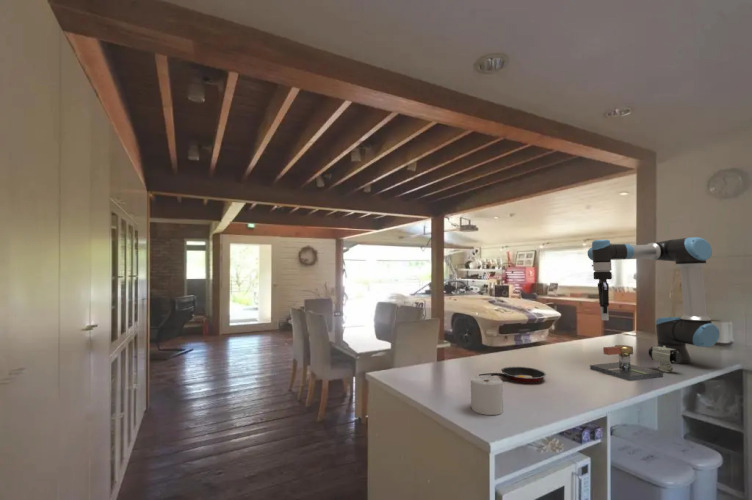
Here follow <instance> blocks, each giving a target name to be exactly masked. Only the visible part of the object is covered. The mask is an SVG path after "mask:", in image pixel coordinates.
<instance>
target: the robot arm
mask: <svg viewBox="0 0 752 500" xmlns="http://www.w3.org/2000/svg"><path fill="white" fill-rule="evenodd" d="M610 241H611V240H609V239H596V240H593V241H592V243H591V246H592V247H590V248H588V250H587V258H589V260H591V261H592V264H591V267H592V271H594V272H593V273H592V274H593V280H598V282H597V290H598V302H599V306H600V319H601V321H609V320H610V319H609V317H610V315H609V306H610V301H609V299H610V298H609V296H610V295H609V293H610V291H609V289H610V286H609V285H610V284H609V283H608V281H607V280H612V279H613V275H612V274H613V273H612V261H615V260H616V261H617V260H643V259H644V260H645V259H648V260H650V261H665V262H675V265H676V266H677V267H678V268H679V272H680V274H679V275H680V285H681V295H682V296H681V297H682V308H683V314H682V316H679V317H678V316H676V317H675V316H673V317H672V316H671V317H657V318H656V322H655V327H656V339H657V340H656V341H657V346H659V347H663V346H665V348H671V349H676V350H678V352H679V353H680V354H681V357H682V359H681V361H680V362H679V363H677V364H678V365H679V364H680V365H681V364H682V365H683V364H685V365H686V364H687V365H688V364H692V357H691V356H690V353H689V350H688V349H687V345H691V346H696V347H702V348H710V347H712V346H714V345H715V344H716V343H717V342H718V341H719V339H720V334H721V333H720V330H719V327H718V326H717V325H715V324H714V323H712V322H713V321H712V318H711V317H709V316H708V313H707V303H706V301H707V300H706V293H705V282H704V270H703V267H705V266H706V265H707V260H709V259H711V256H712V255H713V250H712V249H713V248H712V246H711V245H710V243H709V242H708V241H707V240H706V239H705V238H702V237H698V236H696V237H694V236H693V237H684V238H676V239H675V238H674V239H668V240H662V241H658V242H648V243H647V244H627V243H626V244H625V243H618V244H617V243H613V244H612V243H611V242H610Z"/></svg>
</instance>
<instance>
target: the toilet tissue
mask: <svg viewBox="0 0 752 500" xmlns="http://www.w3.org/2000/svg"><path fill="white" fill-rule="evenodd" d="M479 375H480V374H479ZM479 375H475V376H472V377H471V378H470V401H471V403H470V405H471V406H470V407H471V409H472V411H474V412H475V413H477V414H481V415H485V416H486V415H487V416H496V415H497V416H498V415H502V414H503V413H504V397H503V392H504V390H503V389H504V388H503V380H502V379H501V378H497V377H495V376H491V375H480V376H479Z"/></svg>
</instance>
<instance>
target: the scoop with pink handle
mask: <svg viewBox="0 0 752 500" xmlns="http://www.w3.org/2000/svg"><path fill="white" fill-rule="evenodd" d="M602 350H603V355H608V356H611V355H612V356H613V355H619V354H630V355H633V354H634V347H633V346H630V345H625V344H615V345H614V346H606V347H605V346H603V349H602Z"/></svg>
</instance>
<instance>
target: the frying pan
mask: <svg viewBox="0 0 752 500" xmlns="http://www.w3.org/2000/svg"><path fill="white" fill-rule="evenodd" d="M500 371H501V372H502V373H501V372H490V373H481V374H478V376H480V375H491V377H495V376H497V377H503V378H507V379H508V380H510V381H513V382H515V383H522V384H536V383H539V382H541V381H542V380H543V379H544V378H545V377H546V376H547V373H546V372H545V371H544V370H541V369H538V368H533V367H528V366H506V367H503V368H501V369H500Z"/></svg>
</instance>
